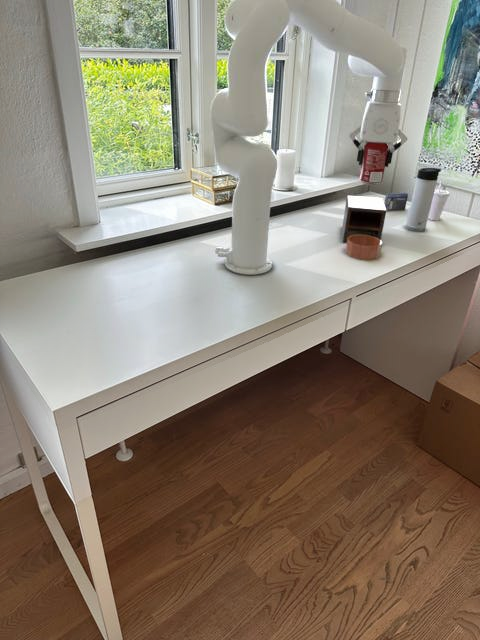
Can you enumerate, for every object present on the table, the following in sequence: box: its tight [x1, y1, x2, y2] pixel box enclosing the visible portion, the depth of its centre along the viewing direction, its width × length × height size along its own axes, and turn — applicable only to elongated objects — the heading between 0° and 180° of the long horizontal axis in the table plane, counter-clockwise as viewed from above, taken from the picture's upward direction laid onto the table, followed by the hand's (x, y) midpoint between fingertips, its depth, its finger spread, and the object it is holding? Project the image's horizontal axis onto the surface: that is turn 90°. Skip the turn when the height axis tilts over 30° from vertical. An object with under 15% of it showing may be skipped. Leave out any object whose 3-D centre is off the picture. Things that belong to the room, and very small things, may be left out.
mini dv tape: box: [384, 192, 409, 212], centre depth 174 cm, size 8×2×6 cm, turn 103°
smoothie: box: [428, 178, 451, 221], centre depth 164 cm, size 6×6×14 cm
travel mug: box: [405, 167, 442, 233], centre depth 152 cm, size 6×7×20 cm
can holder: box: [345, 233, 383, 261], centre depth 136 cm, size 10×10×4 cm
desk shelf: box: [341, 194, 387, 244], centre depth 146 cm, size 11×13×11 cm
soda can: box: [358, 142, 389, 186], centre depth 136 cm, size 7×7×12 cm
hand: (373, 164), depth 136 cm, fingers closed on soda can, 6 cm apart
